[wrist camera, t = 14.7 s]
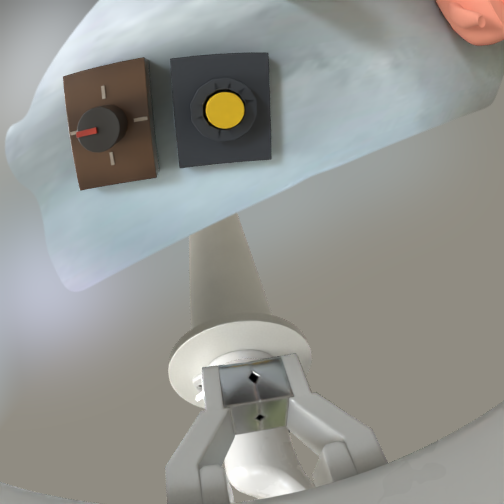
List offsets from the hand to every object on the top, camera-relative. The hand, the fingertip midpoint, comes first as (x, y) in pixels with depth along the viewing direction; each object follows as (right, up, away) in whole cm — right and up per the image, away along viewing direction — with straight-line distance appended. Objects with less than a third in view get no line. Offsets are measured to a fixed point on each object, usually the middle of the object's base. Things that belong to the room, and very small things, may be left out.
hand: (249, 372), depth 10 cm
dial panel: (-15, +18, +21) cm, 31 cm away
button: (-3, +18, +19) cm, 26 cm away
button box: (-3, +20, +22) cm, 30 cm away
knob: (-15, +17, +18) cm, 29 cm away
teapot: (+29, +40, +17) cm, 53 cm away
